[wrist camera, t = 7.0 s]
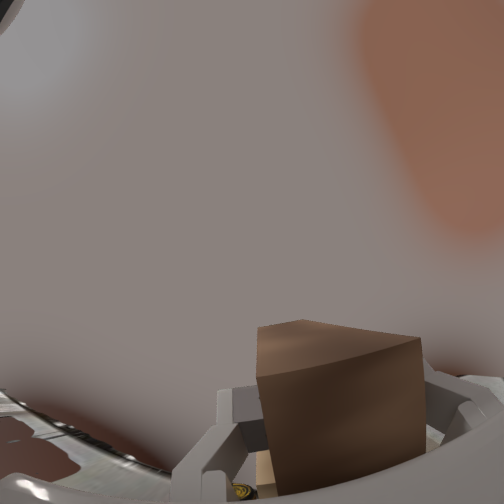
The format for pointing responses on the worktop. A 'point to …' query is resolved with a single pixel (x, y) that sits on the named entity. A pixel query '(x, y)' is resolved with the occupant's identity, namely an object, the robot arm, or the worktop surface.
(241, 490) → the condiment
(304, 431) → the bar
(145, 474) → the worktop surface
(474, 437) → the robot arm
